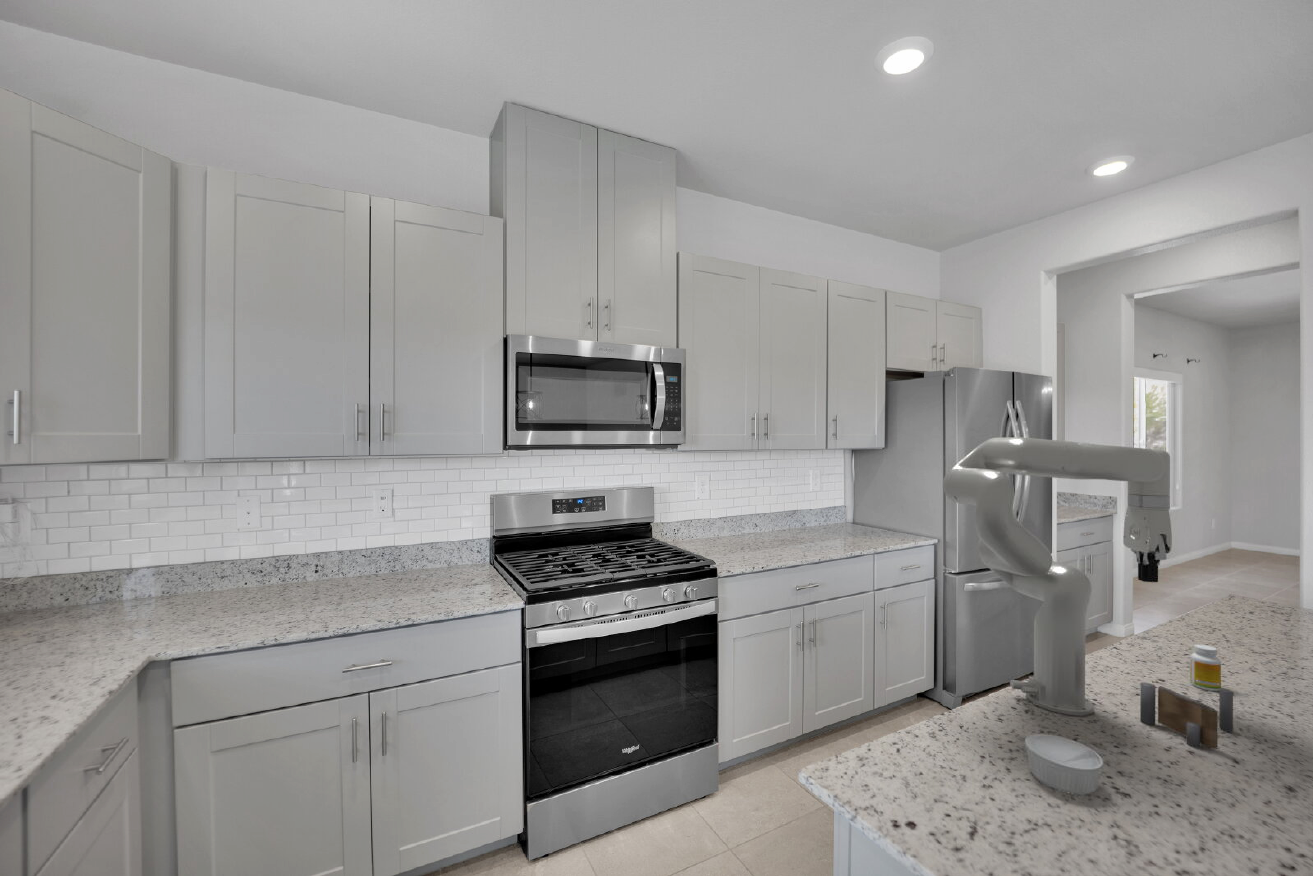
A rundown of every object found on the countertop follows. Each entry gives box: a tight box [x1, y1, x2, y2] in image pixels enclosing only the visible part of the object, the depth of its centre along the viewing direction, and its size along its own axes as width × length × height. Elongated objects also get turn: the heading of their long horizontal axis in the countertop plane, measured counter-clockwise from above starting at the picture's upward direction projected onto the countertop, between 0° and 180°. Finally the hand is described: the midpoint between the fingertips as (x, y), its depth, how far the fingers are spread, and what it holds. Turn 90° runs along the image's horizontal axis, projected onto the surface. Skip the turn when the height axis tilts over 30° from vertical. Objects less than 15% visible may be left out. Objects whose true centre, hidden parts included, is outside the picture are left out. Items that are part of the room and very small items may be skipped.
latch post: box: [1218, 688, 1234, 733], centre depth 118 cm, size 2×2×8 cm
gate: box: [1157, 685, 1219, 749], centre depth 115 cm, size 10×2×8 cm, turn 8°
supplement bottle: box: [1189, 643, 1222, 692], centre depth 140 cm, size 5×5×10 cm
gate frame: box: [1139, 681, 1202, 749], centre depth 117 cm, size 2×11×8 cm, turn 7°
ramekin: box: [1024, 733, 1104, 795], centre depth 100 cm, size 11×11×5 cm
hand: (1147, 581), depth 133 cm, fingers closed
